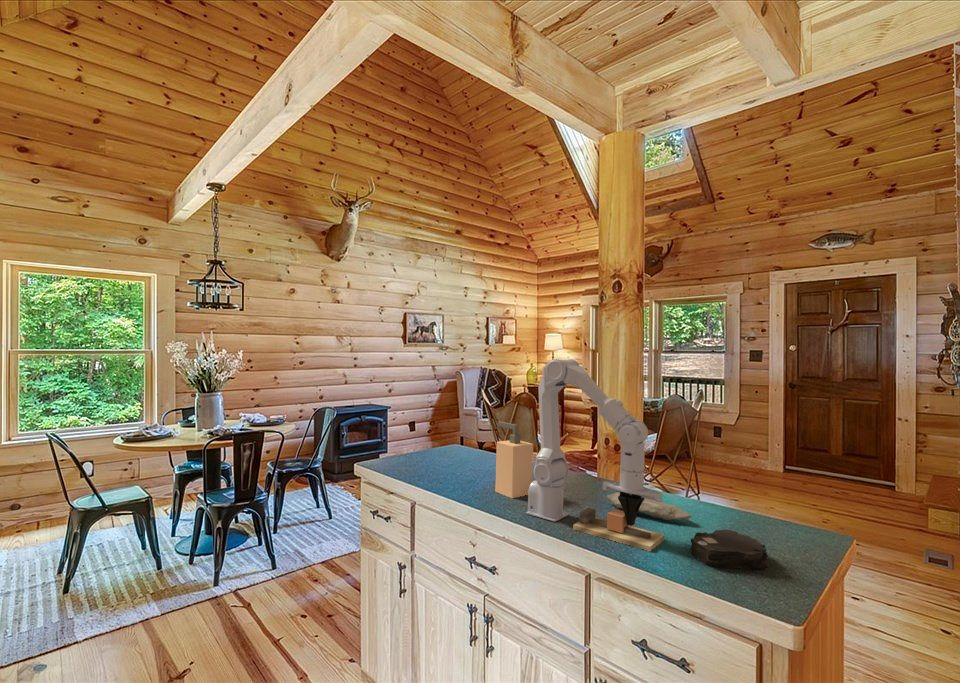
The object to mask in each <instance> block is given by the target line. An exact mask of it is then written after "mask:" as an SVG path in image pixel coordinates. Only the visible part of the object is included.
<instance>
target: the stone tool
mask: <svg viewBox="0 0 960 683" xmlns="http://www.w3.org/2000/svg"><path fill="white" fill-rule="evenodd" d="M618 496H620V493H619V492H614V493H612V494H607V495H606V499H608V500H609V501H611V504H612V505H613V506H615V507H616V508H619V509H622V510H623V508H622V506H621V503H620V501H619V500H618ZM638 513H641V514H646V515H648V516H651V517H653V518H655V519H660V520H663V521H664V520H665V521H675V520H689V519H692V515H691V514H690V513H689V512H687V511H686V510H684V509H681V508H680V507H678V506H676V505H674V504H668V503H665V502H662V501H661V502H656V501H655V500H650V499H646V498H645V499H644V501H643V502H642V504H641V506H640V508H639V510H638Z"/></svg>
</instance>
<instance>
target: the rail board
mask: <svg viewBox="0 0 960 683" xmlns="http://www.w3.org/2000/svg"><path fill="white" fill-rule="evenodd" d="M596 512H597V511H596V508H592V507H587V508H585V509H583V510H581V511H579V520H578V522H576V523H574V524H573V526H572V529H573V530H574V531H578V532H579V533H580V532H581V533H585V534H588V535H591V536H594V537H597V536H598V537H599V538H602V539H604V538H605V540H608V539H609V541H611V540H612V542H615V541H616V542H615V543H618V542H619V543H620V544H622V543H623V544H622V545H625V544H627V545H626V546H628V545H631V546H630V547H632V546H634V547H633V548H635V547H638V548H637V549H639V548H641V549H640V550H642V549H644V550H643V551H646V550H647V551H646V552H649V551H651V550H652V549H653V550H655V549H656V548H657V547H658V546H659V545H660V544H662V543H663V542H664V541H665V538H666V537H665V534H663V533H659V532H655V531H651V530H649V529H645V528H639V527H636V526H634V525H632V526H630V525H629V527H624V532H623V533H620V532H616V531H613V530H609V529H607V519H606V518H602V517H598V516H596ZM656 546H657V547H656ZM653 550H652V551H653ZM652 551H651V552H652Z"/></svg>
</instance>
